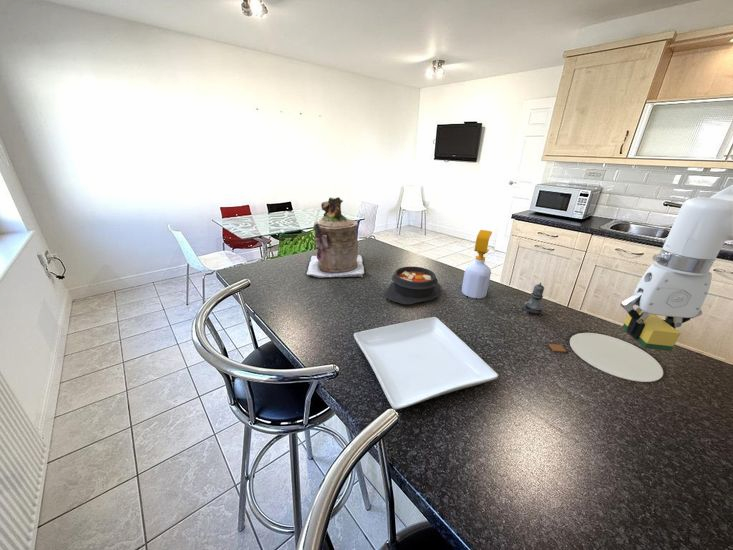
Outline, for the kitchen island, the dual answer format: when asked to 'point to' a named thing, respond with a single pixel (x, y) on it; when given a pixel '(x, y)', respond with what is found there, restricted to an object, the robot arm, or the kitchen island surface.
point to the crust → (557, 348)
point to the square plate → (421, 361)
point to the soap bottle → (478, 269)
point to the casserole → (413, 285)
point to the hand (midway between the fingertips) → (646, 336)
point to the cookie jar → (335, 244)
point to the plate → (616, 357)
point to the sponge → (656, 333)
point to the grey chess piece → (535, 301)
